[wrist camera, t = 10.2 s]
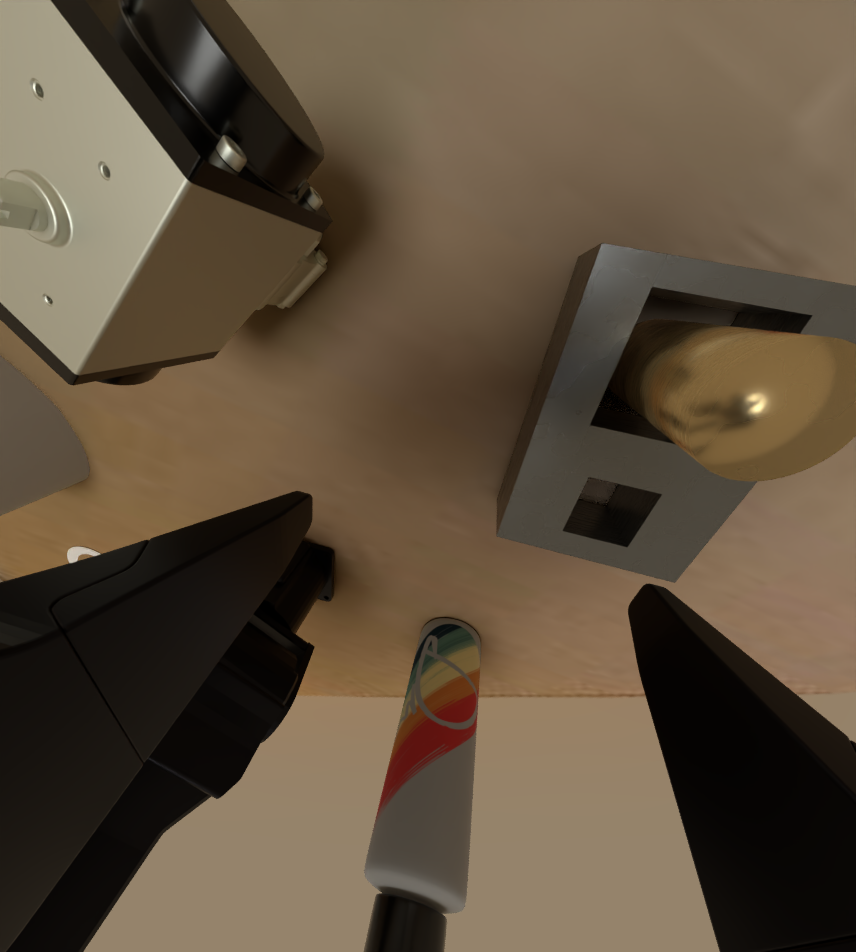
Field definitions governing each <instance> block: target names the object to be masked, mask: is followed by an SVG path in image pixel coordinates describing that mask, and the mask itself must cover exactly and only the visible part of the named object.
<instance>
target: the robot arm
mask: <svg viewBox="0 0 856 952" xmlns="http://www.w3.org/2000/svg"><path fill="white" fill-rule="evenodd" d="M311 523H312V496H311V495H310V494H308V493H304V492H300V491H294V492H291V493H288V494H285V495H282V496H279V497H276V498H273V499H270V500H267V501H264V502H261V503H258V504H255V505H252V506H249V507H245V508H242V509H239V510H236V511H233V512H230V513H227V514H224V515H221V516H218V517H215V518H212V519H209V520H206V521H203V522H199V523H196V524H193V525H190V526H187V527H184V528H181V529H178V530H175V531H172V532H169V533H166V534H163V535H160V536H157V537H153V538H151V539H150V540H144V541H141V542H138V543H135V544H132V545H129V546H126V547H123V548H119V549H116V550H113V551H110V552H107V553H103V554H100V555H97V556H94V557H90V558H87V559H83V560H80V561H76V562H73V563H69V564H66V565H62V566H59V567H55V568H52V569H48V570H44V571H41V572H37V573H33V574H30V575H26V576H22V577H19V578H15V579H11V580H8V581H4V582H1V583H0V952H83V951H84V950H85V948H86V947H87V945H88V944H89V942H90V941H91V939H92V938H93V936H94V935H95V933H96V932H97V930H98V929H99V927H100V926H101V924H102V923H103V921H104V920H105V919H106V917H107V916H108V914H109V912H110V911H111V910H112V908H113V906H114V905H115V903H116V902H117V901H118V899H119V897H120V896H121V894H122V893H123V892H124V890H125V889H126V887H127V886H128V884H129V883H130V881H131V880H132V878H133V877H134V875H135V874H136V872H137V871H138V869H139V868H140V866H141V865H142V863H143V862H144V860H145V859H146V857H147V856H148V854H149V853H150V851H151V850H152V848H153V847H154V846H155V844H156V843H157V841H158V840H159V839H160V837H161V836H162V834H163V833H164V832H165V831H166V830H168V829H169V828H170V827H172V826H173V825H174V824H176V823H177V822H178V821H180V820H181V819H182V818H183V817H185V816H186V815H187V814H189V813H190V812H191V811H193V810H194V809H195V808H197V807H198V806H199V805H200V804H202V803H203V802H205V801H206V800H207V799H208V798H210V797H211V796H212V797H214V798H216V799H218V798H220V797H221V796H223V795H224V794H225V793H226V792H227V791H228V790H229V789H231V788H232V787H233V786H234V785H235V784H236V783H237V782H238V781H239V780H240V779H241V777H242V776H243V774H244V772H245V770H246V768H247V767H248V765H249V763H250V761H251V759H252V757H253V755H254V754H255V752H256V750H257V748H258V747H259V745H260V743H262V742H264V741H265V740H266V739H267V738H268V737H269V736H270V735H271V734H272V733H273V732H274V731H275V730H276V728H277V727H278V726H279V724H280V723H281V722H282V720H283V719H284V717H285V716H286V714H287V713H288V711H289V709H290V707H291V706H292V704H293V702H294V699H295V697H296V695H297V692H298V690H299V687H300V684H301V682H302V679H303V676H304V674H305V671H306V669H307V666H308V663H309V661H310V658H311V655H312V653H313V650H314V646H313V645H312V644H310V643H307V642H306V641H304V640H303V639H301V638H300V637H299V636H297V635H296V632H297V630H298V629H299V627H300V625H301V624H302V622H303V621H304V619H305V617H306V616H307V614H308V613H309V611H310V609H311V608H312V606H313V605H314V603H315V601H316V600H317V599H321V600H324V601H331V600H332V598H333V585H334V552H333V551H332V550H331V549H329V548H326V547H322V546H319V545H315V544H311V543H308V542H304V541H302V540H303V538H304V536H305V534H306V533H307V531H308V529H309V527H310V525H311ZM628 615H629V621H630V626H631V632H632V637H633V642H634V648H635V653H636V659H637V664H638V669H639V673H640V677H641V681H642V685H643V688H644V692H645V695H646V699H647V702H648V705H649V709H650V712H651V716H652V719H653V723H654V726H655V730H656V733H657V737H658V740H659V743H660V747H661V750H662V754H663V757H664V761H665V764H666V768H667V771H668V775H669V778H670V781H671V785H672V788H673V792H674V795H675V799H676V802H677V806H678V809H679V813H680V816H681V819H682V823H683V826H684V830H685V833H686V836H687V840H688V844H689V847H690V850H691V853H692V857H693V861H694V864H695V868H696V871H697V875H698V878H699V882H700V885H701V888H702V892H703V895H704V898H705V902H706V906H707V909H708V913H709V916H710V920H711V923H712V926H713V930H714V933H715V937H716V940H717V944H718V947H719V951H720V952H856V743H855V742H853V741H850V740H849V738H848V737H847V736H846V735H845V734H844V733H843V732H842V731H840V730H839V729H838V728H836V727H835V726H834V725H833V724H832V723H830V722H829V721H828V720H827V719H826V718H824V717H823V716H822V715H821V714H819V713H818V712H817V711H816V710H814V709H813V708H812V707H811V706H810V705H808V704H807V703H806V702H805V701H804V700H802V699H801V698H800V697H799V696H797V695H796V694H795V693H794V692H792V691H791V690H790V689H789V688H788V687H786V686H785V685H784V684H783V683H781V682H780V681H779V680H778V679H777V678H775V677H774V676H773V675H772V674H770V673H769V672H768V671H767V670H766V669H764V668H763V667H762V666H761V665H759V664H758V663H757V662H756V661H754V660H753V659H752V658H751V657H750V656H748V655H747V654H746V653H745V652H743V651H742V650H741V649H740V648H739V647H737V646H736V645H735V644H734V643H732V642H731V641H730V640H729V639H728V638H726V637H725V636H724V635H723V634H721V633H720V632H719V631H718V630H716V629H715V628H714V627H713V626H712V625H710V624H709V623H708V622H707V621H705V620H704V619H703V618H702V617H701V616H699V615H698V614H697V613H696V612H694V611H693V610H692V609H691V608H690V607H688V606H687V605H686V604H685V603H683V602H682V601H681V600H680V599H678V598H677V597H676V596H675V595H674V594H672V593H671V592H670V591H669V590H667V589H666V588H664V587H661V586H657V585H653V584H645V585H644V586H643V587H642V588H641V589H640V591H639V592H638V593H637V595H636V596H635V597H634V599H633V600H632V601H631V603H630V605H629V608H628Z"/></svg>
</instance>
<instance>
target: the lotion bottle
mask: <svg viewBox="0 0 856 952" xmlns="http://www.w3.org/2000/svg"><path fill="white" fill-rule="evenodd" d="M480 657H481V643H480V638H479V636H478V634H477V633H476V631H475V630H474V629H473V628H472V627H470V626H469V625H467V624H466V623H464V622H461V621H459V620H455V619H450V618H439V619H435V620H432V621H430V622H429V623H427V624H426V625H425V626H424V628H423V630H422V632H421V636H420V639H419V643H418V647H417V651H416V655H415V659H414V663H413V667H412V671H411V676H410V680H409V684H408V688H407V692H406V696H405V701H404V704H403V709H402V713H401V717H400V721H399V725H398V729H397V733H396V737H395V742H394V746H393V750H392V754H391V758H390V762H389V766H388V770H387V775H386V779H385V783H384V787H383V791H382V795H381V799H380V804H379V808H378V812H377V816H376V820H375V824H374V829H373V833H372V837H371V841H370V845H369V850H368V854H367V859H366V863H365V870H364V873H365V877H366V879H367V880H368V881H369V882H370V883H371V884H372V885H373V886H374V887H375V888H377V889H378V890H379V891H381V892H382V894H377V895H376V897H375V902H374V905H373V910H372V915H371V920H370V924H369V929H368V934H367V939H366V944H365V948H364V952H444V947H445V937H446V923H447V920H446V918H445V916H444V915H442V914H443V913H444V914H446V913H457V912H460V911H462V910H463V909H464V907H465V902H466V895H467V881H468V866H469V849H470V833H471V813H472V798H473V781H474V762H475V746H476V745H475V744H476V728H477V710H478V694H479V676H480Z"/></svg>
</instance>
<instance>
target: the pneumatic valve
mask: <svg viewBox="0 0 856 952" xmlns="http://www.w3.org/2000/svg"><path fill="white" fill-rule="evenodd" d="M323 159H324V149H323V146H322V143H321V141H320V139H319V137H318V135H317V132H316V131H315V129H314V127H313V125H312V123H311V121H310V120H309V118H308V116H307V114H306V113H305V111H304V109H303V108H302V106H301V105H300V103H299V101H298V100H297V98H296V97H295V95H294V94H293V92H292V90H291V89H290V87H289V86H288V84H287V83H286V81H285V80H284V78H283V77H282V75H281V74H280V73H279V71H278V70H277V68H276V67H275V65H274V64H273V62H272V61H271V60H270V58H269V57H268V55H267V54H266V53H265V51H264V50H263V48H262V47H261V46H260V44H259V43H258V42H257V40H256V39H255V37H254V36H253V35H252V33H251V32H250V31H249V29H248V28H247V27H246V25H245V24H244V23H243V21H242V20H241V19H240V18H239V16H238V15H237V14H236V12H235V11H234V10H233V9H232V7H231V6H230V5H229V4H228V2H227V1H226V0H0V320H1V321H3V322H4V323H5V324H6V325H7V326H8V327H9V328H10V329H11V330H12V331H13V332H14V333H15V334H16V335H17V336H18V337H19V338H20V339H22V340H23V341H24V342H25V343H26V344H27V345H28V346H29V347H30V348H31V349H32V350H33V351H34V352H35V353H36V354H37V355H38V356H39V357H41V358H42V359H43V360H44V361H45V362H46V363H47V364H48V365H49V366H50V367H51V368H52V369H53V370H54V371H55V372H56V373H57V374H58V375H60V376H61V377H62V378H63V379H64V380H65V381H66V382H67V383H68V384H70V385H78V384H83V383H88V382H93V381H97V382H102V383H107V384H113V385H136V384H141V383H144V382H147V381H149V380H151V379H153V378H154V377H155V376H156V375H157V374H158V373H159V371H160V370H161V369H162V368H165V367H170V366H175V365H180V364H185V363H191V362H196V361H201V360H206V359H211V358H214V357H215V356H216V355H217V354H218V352H219V351H220V350H221V349H222V348H223V347H224V345H225V344H226V343H227V342H228V341H229V340H230V339H231V337H232V336H233V335H234V334H235V333H236V332H237V331H238V329H239V328H240V327H241V326H242V325H243V324H244V322H245V321H246V320H247V319H248V318H249V317H250V316H251V314H252V313H253V312H254V311H255V310H261V309H262V308H264V306H265V305H266V304H268V305H276V306H277V307H279V308H282V309H284V308H285V307H288V308H290V307H291V306H292V305H293V304H294V303H295V302H296V301H297V300H298V299H299V298H300V297H301V296H302V295H303V294H304V293H305V292H306V290H307V289H308V288H309V287H310V286H311V285H312V284H313V283H314V282H315V281H316V280H317V279H318V278H319V277H320V276H321V274H322V273H323V272H324V271H325V270H326V269H327V265H326V262H327V261H328V259H327V257H326V255H325V254H324V253H323V252H322V251H321V250H318V251H317V252H316V251H315V250H314V248H315V247H316V246H317V245H318V244H319V242H320V240H321V238H322V233H323V232H324V231H325V229H326V228H327V227H328V226H329V225H330V224H331V222H332V219H331V218H330V216H329V215H328V213H327V211H326V210H325V208H324V207H323V205H322V204H323V201H322V199H321V197H320V196H319V194H318V193H317V192H316V191H315V190H314V189H313V188H312V187H310V186H309V184H308V182H307V179H308V178H309V177H310V176H311V174H312V173H313V172H314V170H315V169H316V168H317V167H318V165H319V164H320V163H321V161H322V160H323Z"/></svg>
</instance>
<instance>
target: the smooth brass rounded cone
mask: <svg viewBox="0 0 856 952" xmlns="http://www.w3.org/2000/svg"><path fill="white" fill-rule="evenodd" d="M608 388H609V389H610V390H611V391H612V392H613V393H614V394H615V395H616V396H618V397H619V398H620V399H621V400H623V401H624V402H625V403H626V404H627V405H629V406H630V407H631V408H632V409H634V410H635V411H636V412H637V413H638V414H640V415H641V416H642V417H643V418H645V419H646V420H647V421H648V422H650V423H651V424H652V425H653V426H654V427H656V428H657V429H658V430H659V431H661V432H662V433H663V434H664V435H665V436H667V437H668V438H669V439H670V440H672V441H673V442H674V443H675V444H677V445H678V446H679V447H680V448H681V449H683V450H684V451H685V452H686V453H688V454H689V455H690V456H691V457H693V458H694V459H695V460H696V461H697V462H699V463H700V464H701V465H702V466H704V467H705V468H706V469H707V470H709V471H711V472H712V473H714V474H716V475H719V476H721V477H724V478H728V479H732V480H738V481H764V480H772V479H777V478H781V477H785V476H789V475H792V474H795V473H798V472H800V471H803V470H806V469H808V468H810V467H812V466H814V465H816V464H818V463H820V462H822V461H823V460H825V459H827V458H829V457H830V456H832V455H833V454H835V453H836V452H837V451H839V450H840V449H841V448H843V447H844V446H845V445H846V444H847V443H849V442H850V441H851V440H852V439H853V438H854V437H855V436H856V344H854V343H852V342H850V341H847V340H843V339H839V338H833V337H824V336H815V335H806V334H796V333H787V332H778V331H768V330H759V329H750V328H741V327H731V326H722V325H713V324H704V323H694V322H685V321H676V320H666V319H653V320H648V321H644V322H641V323H639V324H637V325H635V326H634V328H633V330H632V332H631V335H630V337H629V339H628V341H627V343H626V346H625V348H624V350H623V352H622V355H621V357H620V359H619V361H618V363H617V366H616V368H615V370H614V372H613V374H612V377H611V379H610V381H609V383H608Z"/></svg>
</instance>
